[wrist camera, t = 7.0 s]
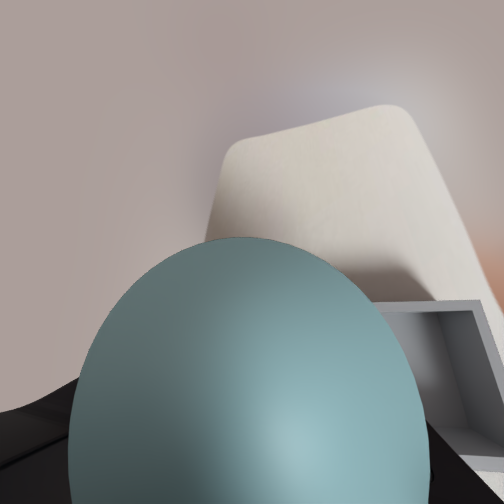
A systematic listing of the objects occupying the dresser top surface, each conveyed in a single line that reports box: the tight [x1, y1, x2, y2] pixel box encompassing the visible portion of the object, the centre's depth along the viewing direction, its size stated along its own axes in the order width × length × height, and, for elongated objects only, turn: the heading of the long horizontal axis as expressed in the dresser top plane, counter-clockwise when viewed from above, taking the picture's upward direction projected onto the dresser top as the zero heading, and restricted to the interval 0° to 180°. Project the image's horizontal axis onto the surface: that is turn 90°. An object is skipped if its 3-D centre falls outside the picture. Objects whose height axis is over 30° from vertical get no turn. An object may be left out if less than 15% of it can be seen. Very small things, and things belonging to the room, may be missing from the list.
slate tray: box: [372, 300, 504, 473], centre depth 13 cm, size 8×8×3 cm
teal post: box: [68, 237, 430, 504], centre depth 9 cm, size 5×5×12 cm
